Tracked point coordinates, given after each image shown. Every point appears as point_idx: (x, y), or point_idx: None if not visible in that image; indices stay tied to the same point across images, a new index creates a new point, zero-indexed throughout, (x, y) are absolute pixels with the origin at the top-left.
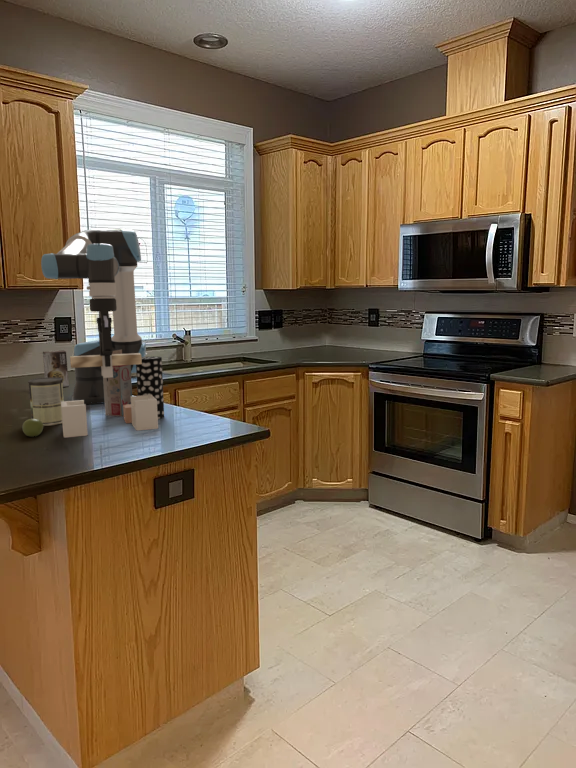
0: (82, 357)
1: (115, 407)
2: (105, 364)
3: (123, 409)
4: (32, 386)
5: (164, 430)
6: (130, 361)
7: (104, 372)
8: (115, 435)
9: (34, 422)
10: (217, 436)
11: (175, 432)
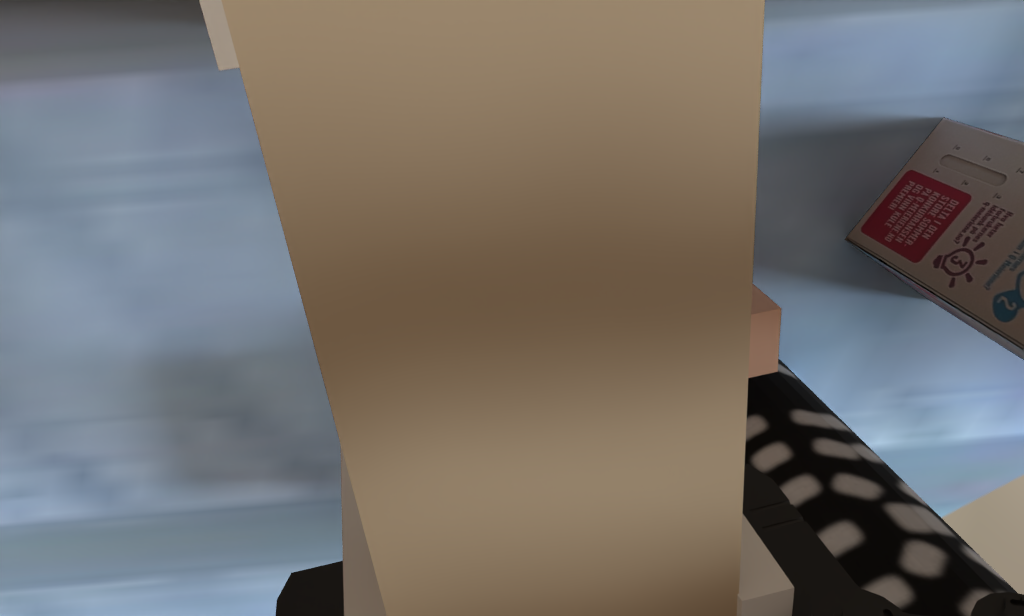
0: (306, 287)
1: (924, 217)
2: (279, 607)
3: (754, 294)
4: None
5: (307, 516)
6: None
7: (347, 473)
8: (215, 242)
9: None
10: None
11: (236, 574)
